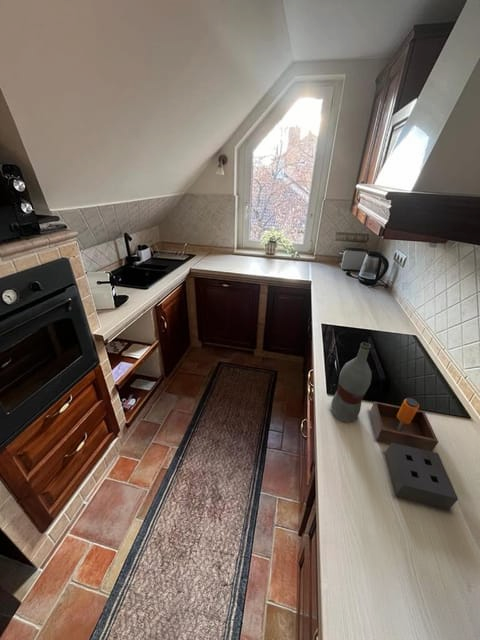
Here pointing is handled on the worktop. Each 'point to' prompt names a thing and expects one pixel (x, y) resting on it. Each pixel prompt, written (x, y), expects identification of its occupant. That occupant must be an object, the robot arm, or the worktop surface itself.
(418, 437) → the tool tray
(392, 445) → the holder
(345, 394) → the bottle
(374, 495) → the worktop surface
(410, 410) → the screwdriver
